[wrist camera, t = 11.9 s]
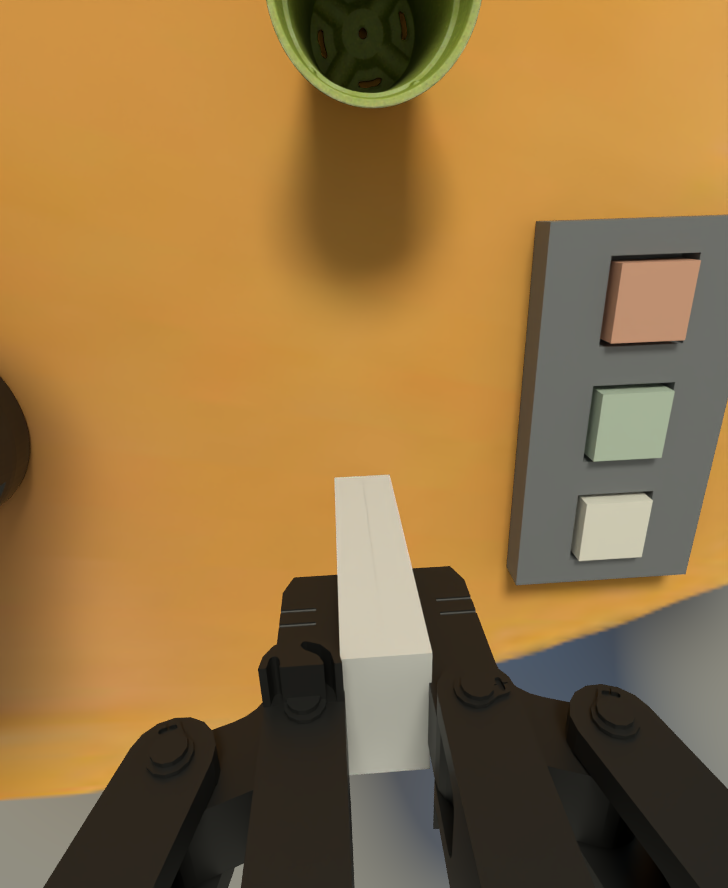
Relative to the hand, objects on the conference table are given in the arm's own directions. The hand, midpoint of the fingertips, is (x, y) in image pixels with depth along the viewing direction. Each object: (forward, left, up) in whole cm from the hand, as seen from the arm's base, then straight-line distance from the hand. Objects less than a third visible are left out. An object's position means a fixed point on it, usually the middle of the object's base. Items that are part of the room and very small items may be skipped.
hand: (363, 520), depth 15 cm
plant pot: (+2, +17, -25) cm, 30 cm away
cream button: (+20, -15, -23) cm, 34 cm away
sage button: (+20, -7, -23) cm, 31 cm away
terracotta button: (+20, +2, -23) cm, 31 cm away
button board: (+20, -6, -24) cm, 32 cm away
